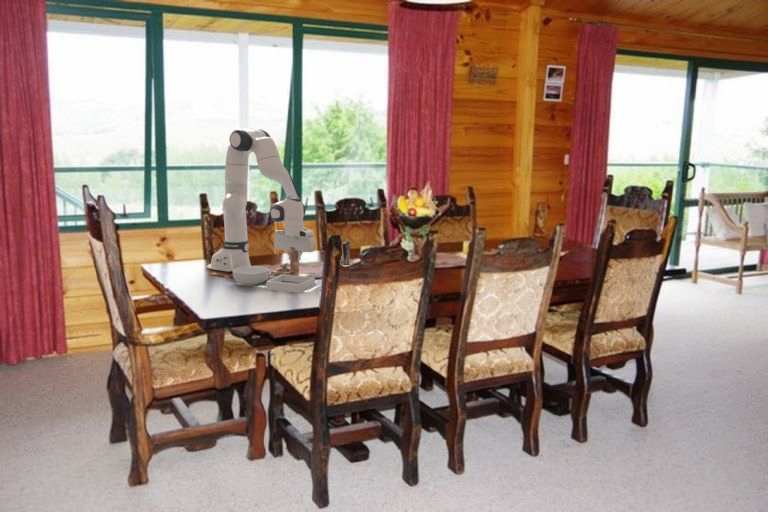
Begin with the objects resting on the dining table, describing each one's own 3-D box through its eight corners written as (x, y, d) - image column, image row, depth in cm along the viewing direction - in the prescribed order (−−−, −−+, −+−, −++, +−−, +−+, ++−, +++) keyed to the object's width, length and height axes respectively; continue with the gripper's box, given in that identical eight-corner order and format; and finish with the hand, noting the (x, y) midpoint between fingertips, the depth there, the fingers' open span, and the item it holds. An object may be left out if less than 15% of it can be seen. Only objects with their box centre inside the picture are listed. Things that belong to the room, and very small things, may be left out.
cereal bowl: (229, 281, 328) (229, 267, 327) (264, 278, 335) (264, 264, 333) (237, 290, 313) (236, 274, 312) (273, 286, 319) (273, 271, 318)
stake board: (268, 279, 333) (268, 265, 332) (281, 273, 346) (281, 260, 344) (299, 282, 328) (299, 268, 327) (311, 276, 340) (310, 262, 339)
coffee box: (345, 276, 340) (345, 244, 337) (332, 276, 342) (332, 243, 338) (350, 272, 349) (350, 241, 346) (337, 272, 350) (337, 240, 347)
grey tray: (266, 289, 314) (266, 281, 313) (281, 282, 328) (281, 274, 327) (300, 292, 309) (300, 284, 308) (315, 285, 322) (315, 277, 322)
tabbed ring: (271, 275, 334) (270, 246, 331) (280, 271, 342) (279, 243, 339) (292, 277, 330) (292, 248, 327) (301, 273, 338) (301, 245, 336)
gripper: (271, 230, 331) (271, 259, 334) (310, 233, 324) (311, 262, 327) (277, 228, 337) (278, 256, 339) (316, 231, 330) (316, 260, 333)
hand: (294, 259), depth 333 cm, fingers closed on tabbed ring, 2 cm apart
